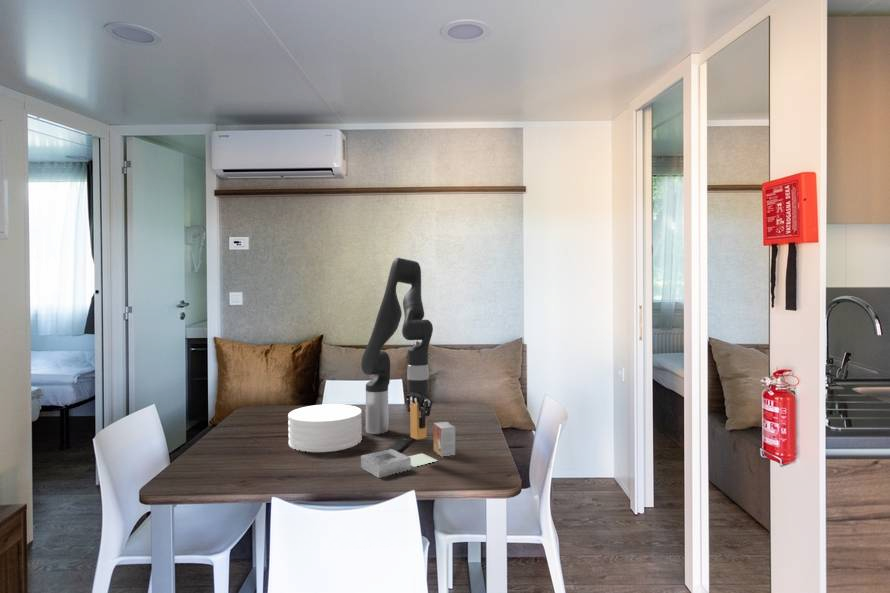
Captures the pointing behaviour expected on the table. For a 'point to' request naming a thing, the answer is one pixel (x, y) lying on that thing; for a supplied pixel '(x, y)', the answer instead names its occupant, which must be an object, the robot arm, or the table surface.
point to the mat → (421, 460)
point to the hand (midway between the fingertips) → (418, 426)
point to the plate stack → (324, 427)
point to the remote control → (401, 443)
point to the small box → (444, 439)
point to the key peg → (416, 423)
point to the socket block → (385, 463)
